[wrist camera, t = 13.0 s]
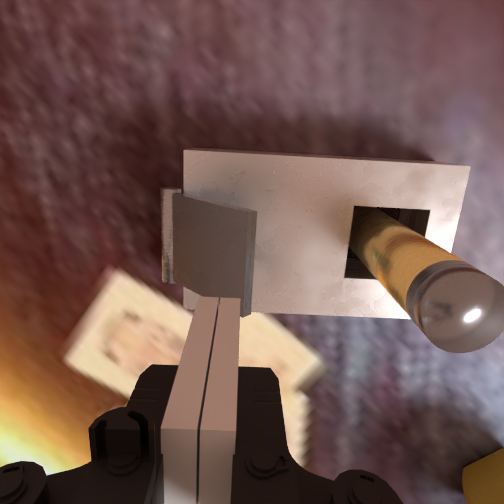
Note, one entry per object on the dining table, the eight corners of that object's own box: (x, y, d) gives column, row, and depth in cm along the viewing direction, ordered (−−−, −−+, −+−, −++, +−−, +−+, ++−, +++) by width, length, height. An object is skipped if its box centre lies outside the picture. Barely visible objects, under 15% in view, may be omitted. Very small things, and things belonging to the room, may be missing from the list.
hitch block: (435, 161, 30) (470, 166, 26) (408, 293, 34) (435, 319, 29) (193, 147, 30) (183, 149, 25) (192, 284, 33) (183, 308, 29)
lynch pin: (338, 249, 33) (415, 351, 17) (344, 205, 31) (432, 273, 16) (383, 251, 33) (498, 354, 18) (390, 207, 32) (521, 276, 16)
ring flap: (261, 206, 21) (244, 209, 20) (254, 315, 23) (238, 322, 22) (173, 186, 26) (156, 187, 25) (174, 275, 28) (158, 279, 27)
